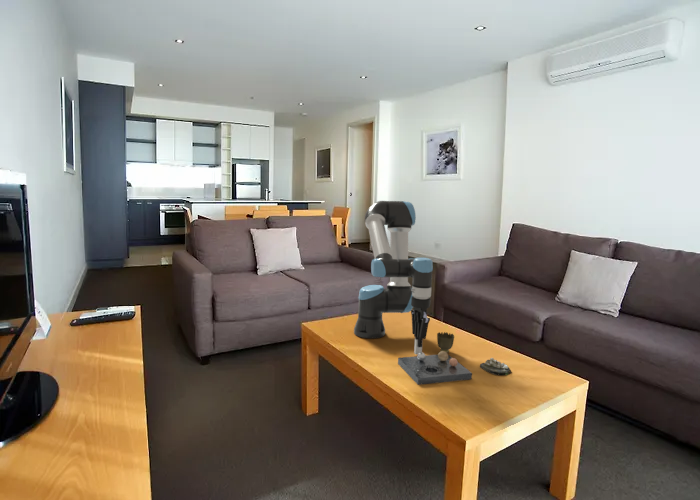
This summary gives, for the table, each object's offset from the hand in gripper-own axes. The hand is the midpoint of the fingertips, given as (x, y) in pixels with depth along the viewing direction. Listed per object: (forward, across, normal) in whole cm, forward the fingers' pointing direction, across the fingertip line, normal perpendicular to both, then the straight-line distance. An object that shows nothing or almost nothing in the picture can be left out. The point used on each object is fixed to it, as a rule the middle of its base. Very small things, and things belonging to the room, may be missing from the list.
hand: (417, 353), depth 171 cm
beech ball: (0, +5, +9) cm, 10 cm away
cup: (+4, -9, +17) cm, 20 cm away
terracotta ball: (0, +11, +10) cm, 15 cm away
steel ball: (0, +3, 0) cm, 3 cm away
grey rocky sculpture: (+5, +12, +28) cm, 31 cm away
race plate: (+4, +8, +3) cm, 10 cm away
